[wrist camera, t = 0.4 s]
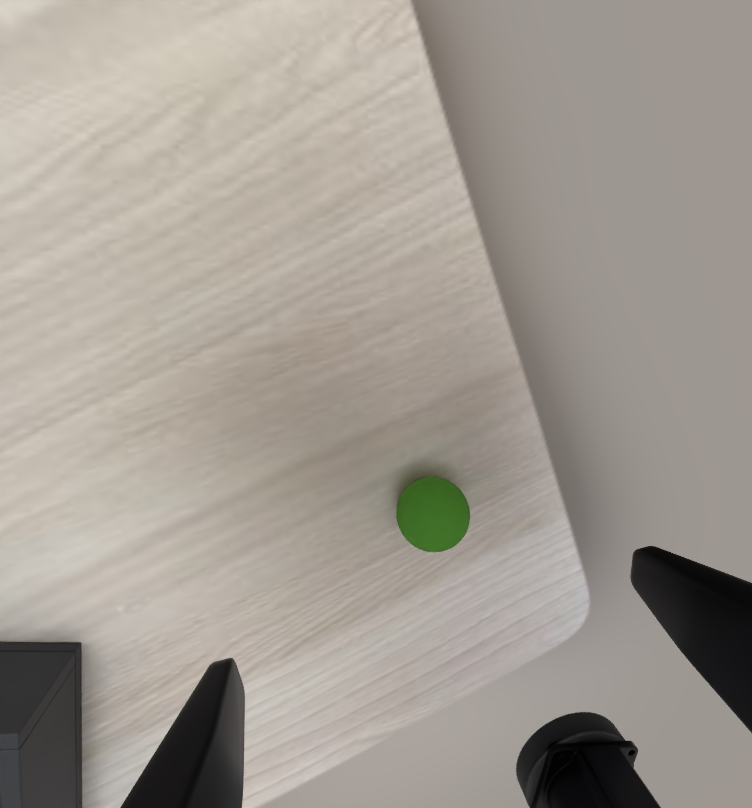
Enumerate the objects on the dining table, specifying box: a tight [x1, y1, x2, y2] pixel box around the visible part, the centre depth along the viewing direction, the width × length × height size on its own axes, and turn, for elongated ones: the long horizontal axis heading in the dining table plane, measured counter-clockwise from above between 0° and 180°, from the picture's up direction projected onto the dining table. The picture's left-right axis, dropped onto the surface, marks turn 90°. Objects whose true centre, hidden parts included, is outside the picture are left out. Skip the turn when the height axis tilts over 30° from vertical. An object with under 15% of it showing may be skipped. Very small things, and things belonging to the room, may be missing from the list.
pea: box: [396, 477, 470, 552], centre depth 20 cm, size 4×4×4 cm
